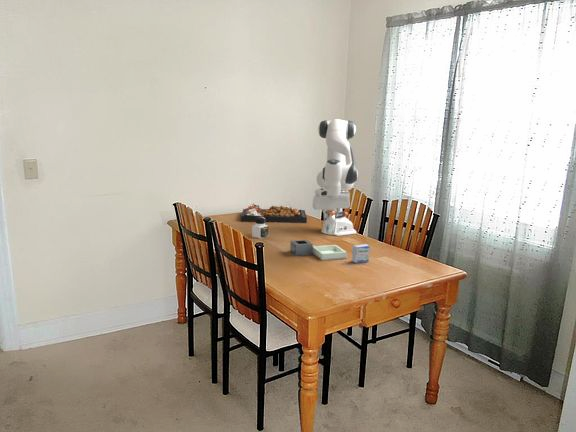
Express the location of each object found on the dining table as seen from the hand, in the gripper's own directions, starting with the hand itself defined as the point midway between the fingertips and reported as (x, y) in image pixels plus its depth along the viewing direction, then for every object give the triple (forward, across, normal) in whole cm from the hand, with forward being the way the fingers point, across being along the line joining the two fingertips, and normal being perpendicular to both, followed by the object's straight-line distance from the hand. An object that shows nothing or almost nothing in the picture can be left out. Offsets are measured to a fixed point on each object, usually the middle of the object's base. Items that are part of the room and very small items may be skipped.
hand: (330, 217), depth 252 cm
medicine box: (+22, -12, +13) cm, 28 cm away
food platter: (+22, +3, -90) cm, 93 cm away
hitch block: (+21, +13, -8) cm, 26 cm away
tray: (+21, 0, 0) cm, 21 cm away
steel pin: (+9, 0, 0) cm, 9 cm away
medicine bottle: (+22, +26, -45) cm, 56 cm away
